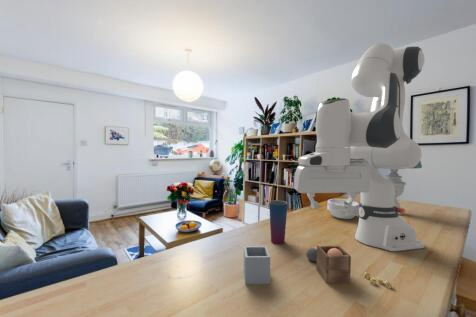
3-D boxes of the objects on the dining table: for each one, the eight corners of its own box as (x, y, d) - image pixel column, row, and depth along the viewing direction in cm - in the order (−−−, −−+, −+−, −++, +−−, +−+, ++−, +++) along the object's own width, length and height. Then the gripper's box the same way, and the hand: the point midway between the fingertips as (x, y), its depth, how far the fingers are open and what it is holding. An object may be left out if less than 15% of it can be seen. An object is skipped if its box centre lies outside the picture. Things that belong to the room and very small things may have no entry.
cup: (287, 246, 81) (287, 205, 80) (268, 244, 82) (268, 204, 82) (286, 238, 88) (287, 200, 87) (269, 237, 89) (269, 199, 88)
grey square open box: (266, 271, 64) (266, 246, 64) (270, 285, 57) (270, 257, 57) (243, 272, 64) (243, 246, 63) (245, 285, 57) (245, 257, 57)
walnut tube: (338, 270, 65) (338, 245, 64) (350, 284, 58) (350, 256, 58) (316, 271, 64) (316, 245, 64) (325, 284, 58) (326, 256, 58)
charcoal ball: (316, 257, 72) (317, 245, 72) (321, 264, 68) (322, 251, 68) (304, 257, 72) (304, 245, 72) (309, 264, 68) (309, 251, 68)
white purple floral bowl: (365, 221, 110) (365, 205, 109) (334, 221, 110) (334, 205, 109) (350, 212, 125) (350, 198, 124) (322, 212, 125) (323, 198, 125)
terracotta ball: (337, 251, 63) (344, 247, 60) (340, 266, 61) (347, 263, 58) (323, 249, 63) (329, 245, 60) (326, 265, 61) (332, 261, 58)
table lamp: (423, 222, 109) (426, 139, 107) (366, 214, 122) (368, 140, 120) (416, 211, 129) (419, 141, 127) (369, 205, 142) (371, 142, 140)
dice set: (392, 292, 56) (392, 284, 56) (370, 290, 57) (370, 282, 57) (383, 280, 61) (383, 273, 61) (362, 278, 62) (362, 271, 62)
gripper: (362, 157, 65) (361, 205, 66) (292, 158, 64) (292, 205, 65) (376, 159, 59) (375, 211, 59) (299, 159, 58) (299, 212, 58)
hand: (331, 208), depth 62 cm, fingers open, 8 cm apart
